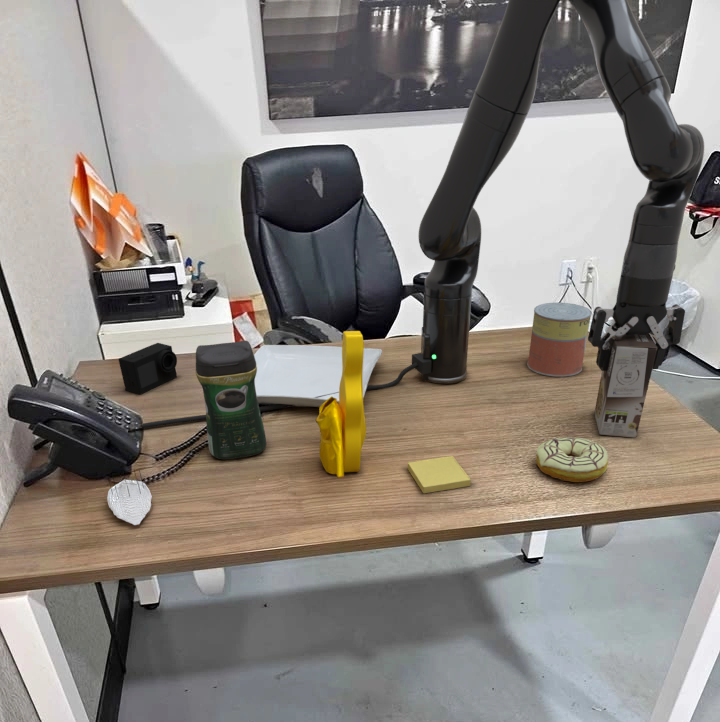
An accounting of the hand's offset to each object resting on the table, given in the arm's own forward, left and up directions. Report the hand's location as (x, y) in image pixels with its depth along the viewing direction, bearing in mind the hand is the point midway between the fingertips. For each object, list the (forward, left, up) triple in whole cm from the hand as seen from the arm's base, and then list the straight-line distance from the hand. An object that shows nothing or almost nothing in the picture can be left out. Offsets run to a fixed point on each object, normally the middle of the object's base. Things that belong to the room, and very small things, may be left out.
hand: (627, 368), depth 110 cm
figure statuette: (-48, -13, -11) cm, 51 cm away
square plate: (-56, +19, -11) cm, 60 cm away
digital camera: (-88, +21, -11) cm, 91 cm away
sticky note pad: (-33, -17, -11) cm, 39 cm away
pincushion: (-79, -24, -11) cm, 83 cm away
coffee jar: (-66, -7, -11) cm, 67 cm away
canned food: (-4, +27, -11) cm, 29 cm away
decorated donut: (-12, -15, -11) cm, 22 cm away
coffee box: (0, 0, -11) cm, 11 cm away
